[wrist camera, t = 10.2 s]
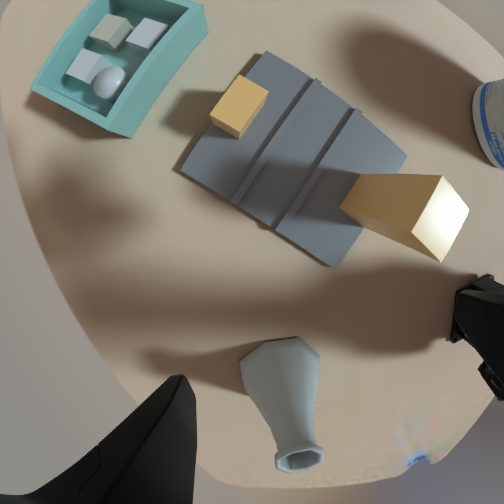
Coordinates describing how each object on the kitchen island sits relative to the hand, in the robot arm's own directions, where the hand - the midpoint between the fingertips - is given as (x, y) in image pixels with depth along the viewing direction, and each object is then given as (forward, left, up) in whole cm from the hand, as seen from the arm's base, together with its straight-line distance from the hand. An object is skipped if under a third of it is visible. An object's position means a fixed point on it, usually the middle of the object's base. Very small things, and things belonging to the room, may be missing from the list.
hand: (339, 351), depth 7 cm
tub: (+17, +8, -13) cm, 23 cm away
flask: (-11, +2, -13) cm, 17 cm away
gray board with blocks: (+6, -3, -13) cm, 15 cm away
